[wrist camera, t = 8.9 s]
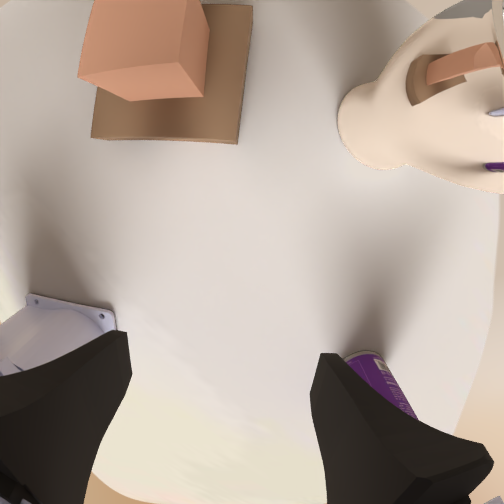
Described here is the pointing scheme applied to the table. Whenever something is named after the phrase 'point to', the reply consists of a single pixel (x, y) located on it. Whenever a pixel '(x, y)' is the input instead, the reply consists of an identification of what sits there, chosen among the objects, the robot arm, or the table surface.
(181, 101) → the walnut base
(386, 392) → the container
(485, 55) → the beer glass
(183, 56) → the terracotta block
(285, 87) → the table surface
